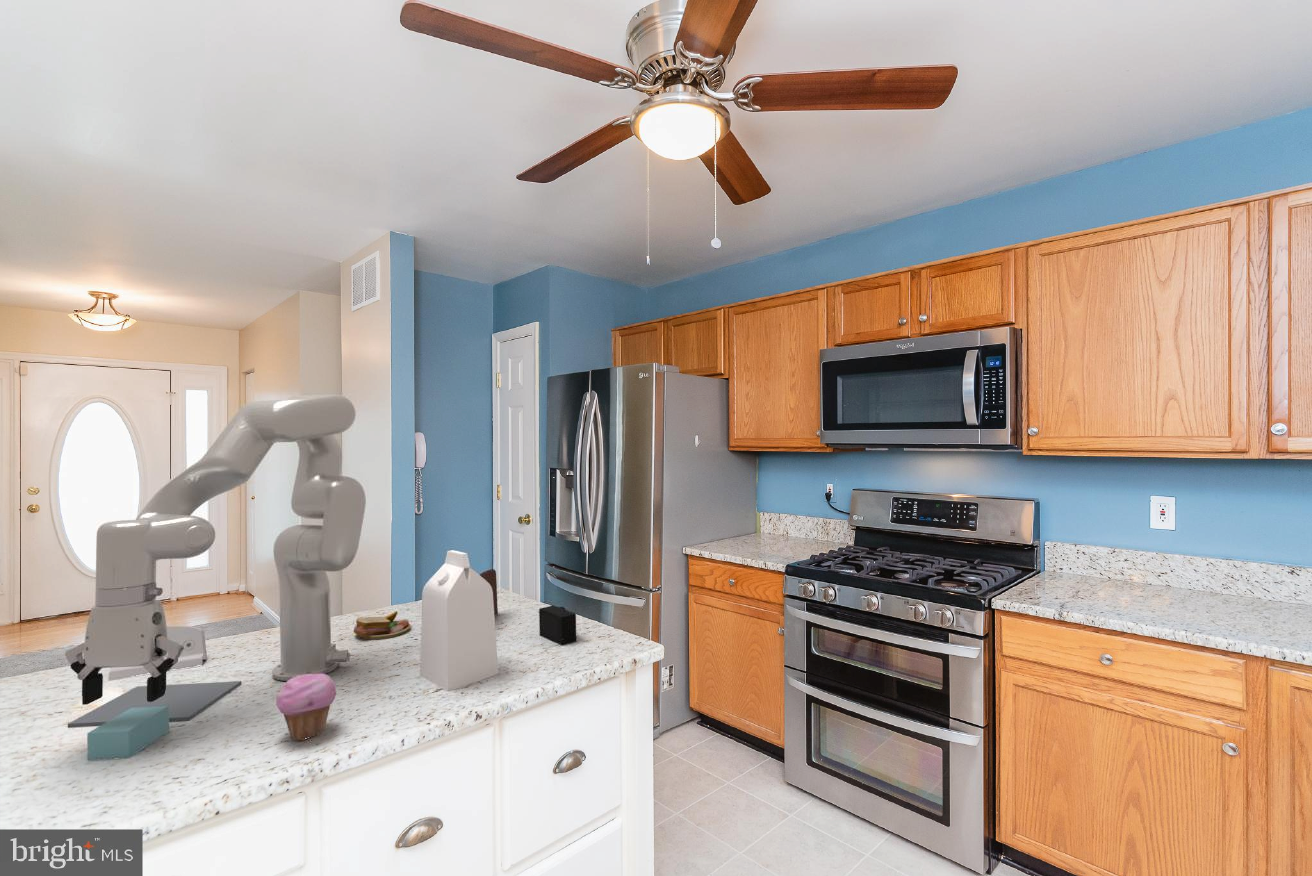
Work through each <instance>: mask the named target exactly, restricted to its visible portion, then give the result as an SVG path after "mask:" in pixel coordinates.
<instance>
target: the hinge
mask: <svg viewBox="0 0 1312 876" xmlns="http://www.w3.org/2000/svg"><path fill="white" fill-rule="evenodd" d="M166 626H167V639H169V640H171V641H174V642H176V643H178V644H180V645H182V646H183V647H184V649H183V651H182V653H181V655H180V657H179V658H178V661H177V662H176V663H175V664H174V665H173V666H172V667H171V669H170V670H172V669H180V670H182V669H181V668H186V667H193V668H195V667H194V666H197V665H202V664H203V663H204V661H206V659H207V660H208V655H207V647H206V637H205V630H204V629H202V628H201V627H195V626H190V625H166ZM167 656H168V652H167V654H166V655H165V656H163V658H164V659H165V660H166V659H167ZM154 664H155V663H154ZM155 665H156V664H155ZM203 665H204V664H203ZM203 665H202V666H203ZM156 666H157V665H156ZM186 669H187V668H186ZM170 670H169V671H168V672H171V671H170ZM147 673H149V672H148V671H147V670H146V669H145V668H144V667H143V666H135V667H110V670H109V673H108V681H109V682H110V681H114V680H122V679H128V677H129V678H132V677H131V676H135V677H137V676H136V675H140V674H147Z"/></svg>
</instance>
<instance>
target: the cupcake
mask: <svg viewBox="0 0 1312 876" xmlns="http://www.w3.org/2000/svg"><path fill="white" fill-rule="evenodd" d="M336 692H337V690H336V685H335V683H334V680H332V678H331V677H330V676H329V675H328V674H327V673H326V674H305V675H300V676H297V677H294V678H291V679H290V680H288V681H285V684H284V685H283V687H282V688H281V690H280V691H279V692H278V693H277V696H276V708H277V709H278V710H279V712H280V713H281V714H283V717H284V720H285V723H286V727H287V729H288V730H287V731H288V732H289V735H290V736H291V737H292V739H293V740H294V741H295V742H299V741H298V740H302V741H304V740H303V739H305V738H308V737H310V738H312V737H314V736H317V735H319V734H320V733H321V732H322V731H323V730H324V728H325V726H326V724H327V721H328V717H329V712H330V707H331V705H332V704H333V702H334V701H335V699H336V694H337V693H336ZM318 733H319V734H318ZM316 734H317V735H316ZM313 735H314V736H313ZM311 736H312V737H311ZM308 739H309V738H308ZM305 740H306V739H305Z"/></svg>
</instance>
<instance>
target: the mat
mask: <svg viewBox="0 0 1312 876" xmlns="http://www.w3.org/2000/svg"><path fill="white" fill-rule="evenodd" d="M241 683H242V680H239V681H220V682H219V681H218V682H200V683H182V684H180V683H178V684H166V691H165V694H164V696H162V697H160V698H158V699H157V700H155V701H153V702H148V701H147V685H141V686H139V685H138V686H135V687H134V688H131V689H129V690H128V691H126V692H124V693H123V694H120V695H119V696H117V697H114V698H113V699H111V700H109V701H108V702H105V703H104V704H102V705H100V706H98V707H96V708H95V709H93V710H91V711H89V712H87V713H86V714H83V715H81V716H80V717H78V718H75V719H74V720H72V721H71V722H69V723H67V728H77V727H78V728H79V727H95V726H98V727H99V726H101V725H103V724H104V723H106V722H108V721H110V720H111V719H113V718H115V717H117V716H118V715H120V714H122V713H124V712H125V711H127V710H129V709H130V708H140V707H158V706H169V722H183V721H184V722H185V721H186V722H187V721H190V720H193V718H194V717H196V716H197V715H199V714H200V713H202V712H203V711H205V710H206V709H207V708H210V706H212V705H213V704H215V703H216V702H218V701H219V700H221V699H222V698H223V697H225V696H226V695H228V694H229V693H230V692H232V691H234V690H235V689H237V688H238V687H240V686H241V685H242V684H241ZM236 687H237V688H236ZM233 689H234V690H233Z"/></svg>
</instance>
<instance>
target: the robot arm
mask: <svg viewBox="0 0 1312 876" xmlns="http://www.w3.org/2000/svg"><path fill="white" fill-rule="evenodd" d="M355 421H356V408H355V406H354V404H353V403H352V401H351V400H350V399H349V398H347V397H346V396H343V395H341V394H338V393H337V394H336V393H332V394H330V393H329V394H304V395H298V396H297V395H296V396H293V397H290V398H288V399H277V400H258V401H252V402H249V403H246V404H245V405H243V406H241V408H240V409H239V410H238V411H237V412H236V413H235V414H234V416H233V417H232V419H231V420H230V421H229V423H228V424H227V425H226V426H225V428H224V429H223V431H222V432H221V433H220V434H219V435H218V437H217V438H216V439H215V441H214V442H213V444H211V446H210V447H209V449H208V450H207V451H206V452H205V454H204V455H203V456H202V458H201V459H199V460H198V461H197V462H195V463H193V464H192V465H191V466H189V467H187V469H185V470H184V471H182V472H181V473H180V474H179V475H177V476H176V477H174V478H173V479H172V480H170V481H169V482H167V483H166V484H165V485H164V486H162V487H161V488H160V489H159V490H158V491H157V492H156V493H154V495H153V496H152V497H151V499H150V500H149V501H148V502H147V503H146V505H145V506H144V507H143V509H142V510H141V512H140V513H139V514H138V515H137V517H136V518H135V519H125V520H114V521H109V522H104V523H103V524H101V525H100V526H99V527H98V528H97V530H96V542H95V543H96V545H95V546H96V549H95V556H96V557H95V558H96V559H95V592H94V593H95V598H94V603H95V604H94V605H93V606H92V607H91V609H90V611H89V615H88V620H87V624H86V627H85V629H86V630H85V636H84V642H83V643H81V644H79V645H77V646H74V647H73V648H71V649H69V650H67V651H65V653H64V656H65V658H66V659H67V661H68V663H69V664H70V670H72V671H73V672H74V673H76V674H77V679H78V680H79V681H81V700H82V701H81V703H82V705H84V706H85V705H89V704H92V703H94V702H96V701H97V700H99V699H102V697H103V695H104V692H103V688H104V687H103V686H104V684H103V683H104V675H103V673H102V672H100V671H101V670H102V669H103V668H110V669H111V667H135V666H143V667H144V668H145V669H146V670H147V671H148V672H149V673H150V674H149V675H150V676H149V677H147V680H146V686H147V701H148V702H153V701H155V700H157V699H158V698H160V697H162V696H164V694H165V691H166V685H167V672H170V671H169V670H170V669H171V667H172V666H173V665H174V664H175V663H176V662H177V661H178V658H179V657H180V655H181V653H182V651H183V649H184V647H183V646H182V645H180V644H178V643H176V642H174V641H171V640H169V639H167V626H168V625H167V620H166V614H165V609H164V605H163V602H162V600H161V599H157V597H160V596H162V594H163V592H164V591H163V588H162V587H157V561H159V560H175V559H177V560H179V559H191V558H194V557H198V556H200V555H202V554H205V552H207V550H209V549H210V548H211V547H212V546H213V544H214V542H215V540H216V529H215V527H214V526H213V525H212V523H211V522H210V521H208V520H207V519H206V518H203V517H200V516H197V515H196V516H195V515H192V514H194V512H195V511H196V510H197V509H198V508H200V507H201V506H203V504H205V503H206V502H208V501H210V500H211V499H212V498H215V497H216V496H219V495H221V494H224V493H226V492H230V491H232V490H234V489H235V488H237V487H240V486H241V485H244V484H245V483H247V482H248V481H249V480H250V479H251V477H252V476H253V475H254V473H255V472H256V470H257V468H259V466H260V464H261V463H262V461H263V460H264V458H265V457H266V456H267V454H268V453H269V451H270V450H271V448H272V447H273V445H275V444H276V443H294V442H295V443H296V445H297V447H298V451H299V452H298V455H299V456H298V462H297V463H298V465H297V468H296V473H295V479H294V484H293V487H292V488H293V489H292V494H291V501H290V504H291V509H292V511H293V513H294V514H295V515H297V516H299V517H301V518H304V519H310V520H311V519H313V520H323V521H322V525H320V524H297V525H292V526H290V527H287V528H285V529H283V530H282V531H281V532H280V533H279V534H278V535H277V537H276V538H275V542H274V544H273V550H272V551H273V560H274V563H275V567H276V571H277V577H278V585H279V587H278V589H279V636H280V637H279V638H280V640H279V641H280V642H279V644H280V646H279V647H280V648H279V649H280V650H279V651H280V652H279V653H280V663H279V664H278V665H276V666H274V667H273V669H272V672H271V676H272V678H273V679H275V680H278V681H282V682H283V681H285V682H287V681H288V680H290V679H291V678H294V677H297V676H300V675H305V674H326V675H327V674H328V673H331V672H332V671H334V670H335V669H336V668H338V666H339V665H340V663H344V662H346V663H347V662H349V661H350V658H351V653H350V652H349V649H342V650H338V649H337V648H336V647H337V645H336V643H332V636H331V635H332V632H331V631H332V628H331V585H330V580H329V576H328V574H327V572H329V573H330V572H339V571H343V570H345V569H347V568H348V567H349V566H350V565H351V564H352V563H353V561H354V559H355V557H356V556H357V553H358V550H359V545H360V539H361V534H362V528H363V523H364V517H365V512H366V504H367V503H366V502H367V501H366V493H365V489H364V487H363V486H362V484H361V482H359V481H358V480H357V479H355V478H353V477H350V476H345V475H344V476H343V475H341V471H342V463H343V450H342V447H341V445H340V443H339V440H338V439H337V436H336V435H338V434H342V433H344V432H346V431H347V430H349V429H350V428H351V427H352V426H353V424H354V422H355ZM167 652H168V656H167V659H166V660H165V659H164V658H163V656H165V655H166V654H167ZM154 663H155V664H156V665H157V666H156V665H155V664H154Z"/></svg>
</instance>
